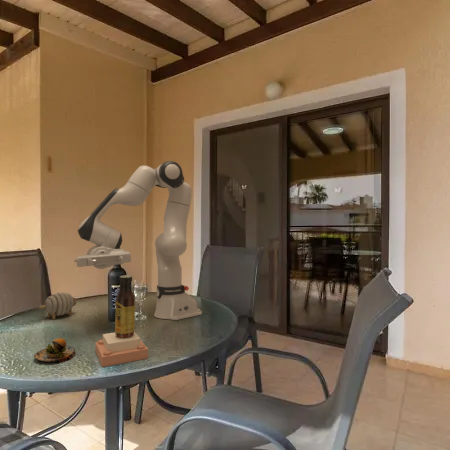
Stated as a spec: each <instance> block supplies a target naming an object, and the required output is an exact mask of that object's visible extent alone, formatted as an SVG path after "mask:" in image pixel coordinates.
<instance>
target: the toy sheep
mask: <svg viewBox="0 0 450 450" xmlns="http://www.w3.org/2000/svg"><path fill="white" fill-rule="evenodd" d="M76 304H77V300H76V297H73V296H72V294H71V293H68V292H57V293H53V294H52V295H50V296H48V297H47V298H46V300H45V301H44V304H43V305H42V304H41V305H39V306H38V309H39V310H43V309H44V310H45V312H47V318H48V319H50V318H51V317H52V318H51V319H52V320H56V317H58V316H59V317H62V316H64V315H67V314H68V316H69V317H71V316H72V315H73V313H72V312H73V311H72V310H73V307H75V305H76Z"/></svg>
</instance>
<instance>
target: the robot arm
mask: <svg viewBox="0 0 450 450" xmlns="http://www.w3.org/2000/svg"><path fill="white" fill-rule="evenodd" d="M184 176H185V175H184V173H183V169H182V167H181V165H180V164H179V163H178V162H176V161H173V160H166V161H165V162H162V164H160V165H158V167H156V168H153V167H151V166H149V165H140V166H139V167H137V169H136V170H135V171H134V172H133V173H132V174H131V176H130V177H129V178H128V180H127V182H126V183H125V185H123V186H122V187H120V188H115V189H112V191H110V193H109V194H107V196H106V197H105V198H104V199H103V200H102V201H101V202H100V203H99V204H98V205H97V206H96V207H95V208H94V210H93V211H92V212H91V213H90V214H89V215H88V216H87V217H86V218H84V220H82V221H81V223H80V224H79V226H78V228H77V234H78V235H79V237H80V238H81V239H82V240H85V241H86V242H90V243H92V244H94V246H91V247H89V249H88V250H87V252H86V255H85V254H84V255H78V256H77V257H76V259H74V260H73V261H74V262H75V263H76V267H78V268H83V267H92V266H93V267H94V268H96V269H98V270H103V269H107V268H109V267H110V268H111V267H112V266H119V265H122V264H123V265H124V264H125V263H130V262H131V261H132V254H131V252H129V251H127V250H124V249H123V248H121V245H122V243H123V235H122V233H121V231H119V230H117V229H115V228H114V227H111V226H110V225H107V224H106V223H104V222H102V221H101V220H100V219H101V218H102V217H103V216H104V214H106V212H107V211H108V210H109V209H110V208H111V207H112V206H114V205H122V206H123V205H124V206H128V207H137V206H141V205H142V204H144V203H145V201H146V200H147V199H148V197H149V195H151V192H152V190H153V189H154V188H155V187H158V188H162V189H167V190H168V198H167V201H166V207H165V211H164V216H163V232H162V233H160V234H159V235H157V237H156V239H155V241H154V245H155V255H156V264H157V285H156V298H157V299H156V306H155V311H154V314H153V315H154V317H155V318H158V319H163V320H172V321H178V320H184V319H186V318H191V317H197V316H200V315H203V311H202V310H201V309H200V308H199V307H198V304H197V301H196V300H195V299H194V298H193V297H192V296H191V295H189V294H188V293H187V292H188V291H189V289H190V288H189V286H187V285H183V284H182V274H183V273H182V265H181V261H180V256H182V255H183V254H184V253H185V252H186V251H187V246H188V245H187V244H188V243H187V225H188V224H187V223H188V218H189V214H190V213H189V212H190V210H191V209H190V208H191V204H192V195H193V194H192V192H193V191H192V187H191V185H190V184H189V183H187V182H185V177H184ZM186 291H187V292H186Z"/></svg>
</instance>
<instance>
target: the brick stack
mask: <svg viewBox="0 0 450 450" xmlns="http://www.w3.org/2000/svg"><path fill="white" fill-rule="evenodd" d="M115 333H116V332H115V331H114V332H110V333H103V334H102V339H98V341H95V343H94V344H95V346H94V347H95V353H96V356H97V359H98V360H99V364H100V365H101V368H107V367H111V366H115V365H121V364H126V363H131V362H134V361H135V362H136V361H142V360H146V359H148V358H149V348H148V347H147V346H146V345H145V343H144V342H143V341H142V340H141V337H139V335H138V334H137V333H136V332H135V331H134V335H133V336H131V337H126V338H119V337H117V336H116V334H115Z"/></svg>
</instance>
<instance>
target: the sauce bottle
mask: <svg viewBox="0 0 450 450" xmlns="http://www.w3.org/2000/svg"><path fill="white" fill-rule="evenodd" d="M132 281H133V275H129V274H125V275H120V276H119V290H118V292H117V295H116V297H115V298H116V299H115V311H114V312H115V315H114V316H115V318H114V319H115V321H114V333H115V332H116V333H115V334H116V336H117V337H119V338H126V337H131V336H133V335H134V332H135V329H136V328H135V327H136V326H135V325H136V323H135V322H136V319H135V318H136V304H135V303H136V302H135V301H136V296H135V293H134V292H133V290H132V288H133V287H132Z"/></svg>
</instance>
